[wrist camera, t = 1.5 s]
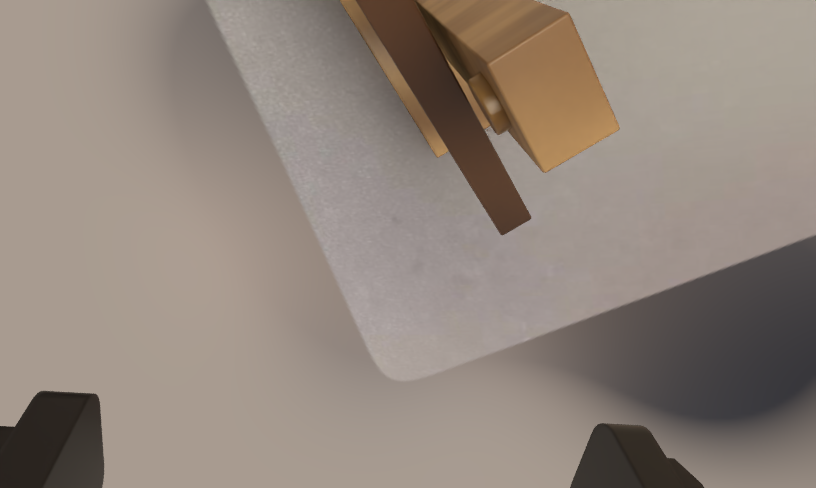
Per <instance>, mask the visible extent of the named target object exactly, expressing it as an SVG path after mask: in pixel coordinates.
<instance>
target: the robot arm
mask: <svg viewBox="0 0 816 488" xmlns="http://www.w3.org/2000/svg"><path fill="white" fill-rule="evenodd" d="M103 478H104V457H103V442H102V428H101V414H100V402H99V398H98V396H97V395H96V394H90V393H72V392H54V391H41V392H39V393H37V395H36V396H35V397H34V398H33V399H32V401H31V402H30V404H29V406H28V407H27V409H26V410H25V412H24V413H23V415H22V417H21V418H20V420H19V421H18V423H17V424H16V426H15V427H6V426H0V488H102V485H103ZM570 488H704V487H703V485H702V484H701V483H700V482H699V481H698V480H697V479H696V478H695V477H694V476H693V475H692V474H690V473H689V472H688V471H687V470H686V469H685V468H684V467H683V466H682V465H681V464H679V463H678V462H677V461H676V460H675V459H672V458H667V457H666V456H665V454H664V453H663V451H662V450H661V448H660V446H659V445H658V443H657V442H656V440H655V439H654V437H653V435H652V434H651V432H650V431H649V430H648V429H647V428H646V427H644V426H640V425H622V424H604V423H602V424H598V425H597V426H596V427H595V428H594V430H593V432H592V434H591V437H590V439H589V441H588V444H587V446H586V449H585V451H584V454H583V456H582V459H581V461H580V464H579V466H578V469H577V471H576V474H575V476H574V478H573V481H572V484H571V487H570Z"/></svg>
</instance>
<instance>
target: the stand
mask: <svg viewBox="0 0 816 488" xmlns="http://www.w3.org/2000/svg"><path fill="white" fill-rule="evenodd" d="M414 1H415V3H416V4H417V6H418V8H419V10H420V12H421V14H422V16H423V17H424V19H425V21H426V23H427V25H428V27H429V29H430V30H431V32H432V34H433V36H434V38H435V40H436V41H437V43H438V45H439V47H440V49H441V51H442V53H443V54H444V56H445V58H446V60H447V62H448V64H449V66H450V67H451V69H452V71H453V73H454V75H455V77H456V79H457V80H458V82H459V84H460V86H461V88H462V90H463V92H464V93H465V95H466V97H467V99H468V101H469V103H470V104H471V106H472V108H473V110H474V112H475V114H476V116H477V117H478V119H479V121H480V123H481V125H482V127H483V129H486V128H488V127H489V126H491V127H492V128H493V130H494V131H495V133H497V134H498V135H500V134H502V133H504V132H505V131H508V132H509V133H510V134H511V135H512V137H513V138H514V139H515V140H516V141H517V142H518V144H519V145H520V146H521V147H522V148H523V149H524V151H525V152H526V153H527V154H528V155H529V156H530V158H531V159H532V160H533V161H534V162H535V164H536V165H537V166H538V167H539V168H540V169H541V171H542V172H544V173H546V172H548V171H549V170H551V169H553V168H555V167H556V166H558V165H560V164H561V163H563V162H565V161H567V160H568V159H570V158H572V157H573V156H575V155H577V154H579V153H580V152H582V151H584V150H585V149H587V148H589V147H590V146H592V145H594V144H596V143H597V142H599V141H601V140H602V139H604V138H606V137H608V136H609V135H611V134H613V133H614V132H616V131H618V130H619V125H618V122H617V120H616V118H615V116H614V113H613V111H612V109H611V106H610V104H609V102H608V100H607V97H606V95H605V93H604V91H603V88H602V86H601V84H600V82H599V79H598V77H597V75H596V73H595V70H594V68H593V66H592V63H591V61H590V59H589V57H588V54H587V52H586V50H585V48H584V45H583V43H582V41H581V39H580V36H579V34H578V32H577V30H576V27H575V25H574V23H573V20H572V18H571V16H570V14H569V13H568V12H565V11H562V10H559V9H556V8H554V7H551V6H548V5H545V4H542V3H540V2H537V1H534V0H414ZM340 2H341V3H342V5H343V7H344V8H345V10H346V11H347V13H348V15H349V16H350V18H351V20H352V21H353V23H354V24H355V26H356V28H357V29H358V31H359V32H360V34H361V36H362V37H363V39H364V41H365V42H366V44H367V45H368V47H369V49H370V50H371V52H372V53H373V55H374V57H375V58H376V60H377V62H378V63H379V65H380V66H381V68H382V70H383V71H384V73H385V74H386V76H387V78H388V79H389V81H390V83H391V84H392V86H393V87H394V89H395V91H396V92H397V94H398V95H399V97H400V99H401V100H402V102H403V104H404V105H405V107H406V108H407V110H408V112H409V113H410V115H411V116H412V118H413V120H414V121H415V123H416V124H417V126H418V128H419V129H420V131H421V133H422V134H423V136H424V137H425V139H426V141H427V142H428V144H429V145H430V147H431V149H432V150H433V152H434V154H435V155H436V157H437V158H438V157H440V156H442V155H443V154H445V153H447V152H448V151H449V150H448V149H447V147H446V146H445V144H444V142H443V141H442V139H441V138H440V136H439V134H438V133H437V131H436V129H435V128H434V126H433V125H432V123H431V121H430V120H429V118H428V117H427V115H426V113H425V112H424V110H423V109H422V107H421V105H420V104H419V102H418V100H417V99H416V97H415V96H414V94H413V92H412V91H411V89H410V88H409V86H408V84H407V83H406V81H405V79H404V78H403V76H402V75H401V73H400V71H399V70H398V68H397V67H396V65H395V63H394V62H393V60H392V58H391V57H390V55H389V54H388V52H387V50H386V49H385V47H384V46H383V44H382V42H381V41H380V39H379V38H378V36H377V34H376V33H375V31H374V29H373V28H372V26H371V25H370V23H369V21H368V20H367V18H366V17H365V15H364V13H363V12H362V10H361V8H360V7H359V5H358V4H357V2H356V0H340Z"/></svg>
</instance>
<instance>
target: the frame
mask: <svg viewBox="0 0 816 488" xmlns="http://www.w3.org/2000/svg"><path fill="white" fill-rule="evenodd" d="M356 2H357V4H358V5H359V7H360V8H361V10H362V12H363V13H364V15H365V17H366V18H367V20H368V21H369V23H370V25H371V26H372V28H373V29H374V31H375V33H376V34H377V36H378V38H379V39H380V41H381V42H382V44H383V46H384V47H385V49H386V50H387V52H388V54H389V55H390V57H391V58H392V60H393V62H394V63H395V65H396V67H397V68H398V70H399V71H400V73H401V75H402V76H403V78H404V79H405V81H406V83H407V84H408V86H409V88H410V89H411V91H412V92H413V94H414V96H415V97H416V99H417V100H418V102H419V104H420V105H421V107H422V109H423V110H424V112H425V113H426V115H427V117H428V118H429V120H430V121H431V123H432V125H433V126H434V128H435V129H436V131H437V133H438V134H439V136H440V138H441V139H442V141H443V142H444V144H445V146H446V147H447V149H448V150H449V152H450V154H451V155H452V157H453V159H454V160H455V162H456V163H457V165H458V167H459V168H460V170H461V171H462V173H463V175H464V176H465V178H466V180H467V181H468V183H469V184H470V186H471V188H472V189H473V191H474V192H475V194H476V196H477V197H478V199H479V201H480V202H481V204H482V205H483V207H484V209H485V210H486V212H487V213H488V215H489V217H490V218H491V220H492V221H493V223H494V225H495V226H496V228H497V230H498V231H499V233H500V234H501V235H504V234H506V233H508V232H509V231H511V230H513V229H515V228H516V227H518V226H520V225H522V224H523V223H525V222H527V221H528V220H530V219H531V216H530V214H529V212H528V210H527V208H526V206H525V205H524V203H523V201H522V199H521V197H520V195H519V193H518V192H517V190H516V188H515V186H514V184H513V182H512V180H511V179H510V177H509V175H508V173H507V171H506V169H505V167H504V166H503V164H502V162H501V160H500V158H499V156H498V155H497V153H496V151H495V149H494V147H493V145H492V143H491V142H490V140H489V138H488V136H487V134H486V132H485V130H484V129H483V127H482V125H481V123H480V121H479V119H478V117H477V116H476V114H475V112H474V110H473V108H472V106H471V104H470V103H469V101H468V99H467V97H466V95H465V93H464V92H463V90H462V88H461V86H460V84H459V82H458V80H457V79H456V77H455V75H454V73H453V71H452V69H451V67H450V66H449V64H448V62H447V60H446V58H445V56H444V54H443V53H442V51H441V49H440V47H439V45H438V43H437V41H436V40H435V38H434V36H433V34H432V32H431V30H430V29H429V27H428V25H427V23H426V21H425V19H424V17H423V16H422V14H421V12H420V10H419V8H418V6H417V4H416V3H415V1H414V0H356Z"/></svg>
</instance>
